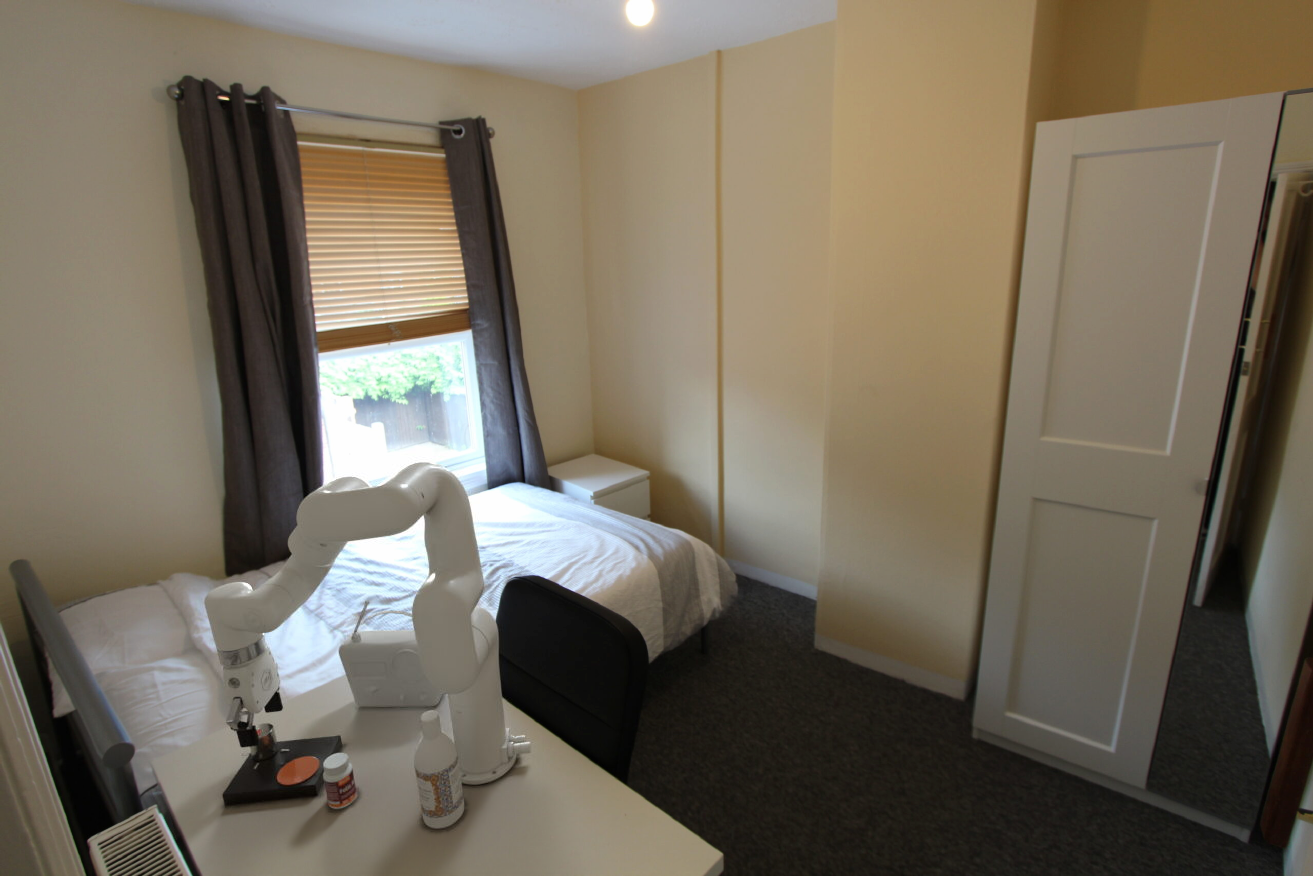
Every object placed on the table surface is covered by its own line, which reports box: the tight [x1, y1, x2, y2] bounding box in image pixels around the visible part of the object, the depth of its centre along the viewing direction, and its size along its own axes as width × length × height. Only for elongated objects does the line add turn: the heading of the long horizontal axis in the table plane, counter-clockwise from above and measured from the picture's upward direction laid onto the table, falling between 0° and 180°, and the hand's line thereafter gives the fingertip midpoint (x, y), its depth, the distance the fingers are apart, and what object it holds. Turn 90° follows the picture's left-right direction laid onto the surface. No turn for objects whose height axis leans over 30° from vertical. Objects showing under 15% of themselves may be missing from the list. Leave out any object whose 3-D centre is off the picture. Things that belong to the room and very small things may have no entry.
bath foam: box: [413, 709, 465, 830], centre depth 112 cm, size 7×7×20 cm
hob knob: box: [249, 722, 278, 761], centre depth 127 cm, size 4×4×5 cm
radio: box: [338, 599, 444, 708], centre depth 142 cm, size 22×8×25 cm, turn 88°
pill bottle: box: [323, 752, 358, 810], centre depth 118 cm, size 5×5×8 cm
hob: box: [221, 735, 343, 807], centre depth 126 cm, size 17×14×3 cm
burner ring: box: [277, 756, 319, 785], centre depth 123 cm, size 7×7×1 cm
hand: (262, 727), depth 126 cm, fingers open, 9 cm apart
